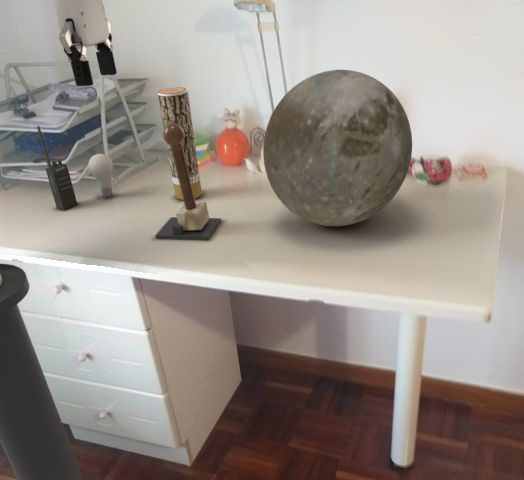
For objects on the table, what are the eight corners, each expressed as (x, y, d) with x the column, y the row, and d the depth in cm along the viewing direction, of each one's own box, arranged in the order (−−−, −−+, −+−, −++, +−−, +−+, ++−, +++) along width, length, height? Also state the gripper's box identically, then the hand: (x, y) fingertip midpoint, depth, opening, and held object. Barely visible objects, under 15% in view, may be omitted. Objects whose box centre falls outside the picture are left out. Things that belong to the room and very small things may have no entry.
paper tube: (170, 200, 143) (151, 93, 128) (184, 190, 148) (168, 86, 133) (193, 202, 140) (177, 94, 126) (207, 192, 145) (192, 87, 131)
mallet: (189, 220, 129) (209, 218, 127) (180, 231, 124) (201, 229, 123) (165, 120, 117) (187, 118, 115) (154, 128, 112) (177, 126, 110)
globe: (291, 192, 141) (285, 58, 124) (415, 199, 131) (427, 55, 114) (248, 244, 118) (233, 89, 101) (394, 256, 109) (405, 88, 92)
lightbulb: (118, 199, 146) (108, 156, 139) (94, 202, 146) (83, 159, 139) (121, 191, 151) (112, 149, 144) (98, 193, 151) (88, 151, 144)
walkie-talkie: (64, 210, 142) (40, 128, 130) (55, 208, 144) (31, 126, 132) (79, 204, 145) (57, 122, 134) (70, 202, 147) (48, 121, 135)
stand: (221, 221, 129) (219, 211, 128) (207, 240, 121) (206, 229, 120) (171, 220, 132) (170, 210, 131) (155, 238, 124) (153, 227, 123)
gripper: (77, -32, 103) (100, 71, 113) (25, -26, 90) (55, 90, 100) (115, -35, 102) (134, 70, 112) (67, -29, 88) (94, 89, 98)
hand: (97, 79), depth 106 cm, fingers open, 9 cm apart
